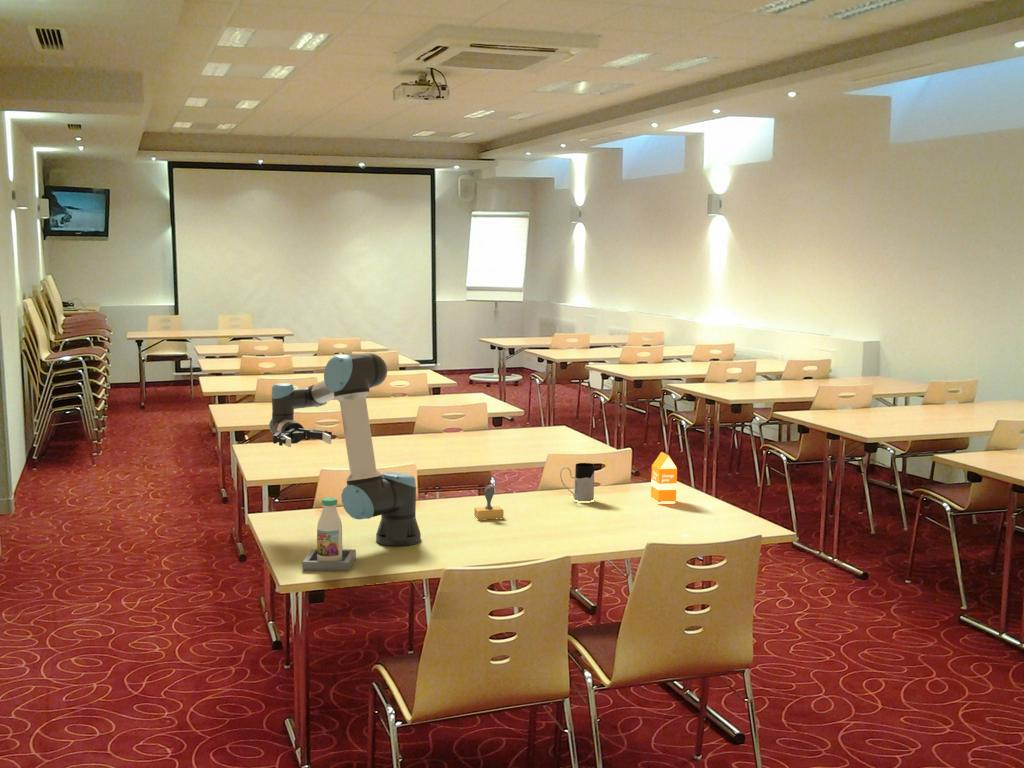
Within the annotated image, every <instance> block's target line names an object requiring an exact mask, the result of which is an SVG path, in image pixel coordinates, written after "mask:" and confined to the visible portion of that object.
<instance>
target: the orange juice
mask: <svg viewBox="0 0 1024 768" xmlns="http://www.w3.org/2000/svg"><path fill="white" fill-rule="evenodd" d="M650 480H651V483H650V485H651V486H650V498H651V497H652V498H654V499H655V500H657V501H658V502H661V501H676V502H677V486H678V485H677V484H678V483H677V481H678V468H677V465H676V464H675V463H674V461H673V460H672V458H671V457H670V454H667V453H665V452H663V451H661V452H660V453H659V454H658V456H657V458H656V459H655V460H654V462H653V463H652V464H651V479H650Z"/></svg>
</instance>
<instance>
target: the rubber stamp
mask: <svg viewBox="0 0 1024 768" xmlns="http://www.w3.org/2000/svg"><path fill="white" fill-rule="evenodd" d="M493 496H494V489H493V487H491V486H486V488H485V489H484V497H485V499H486V506H479V507H474V509H473V510H474V515H473V517H474V516H475V517H476V518H477V519H478V520H477V519H476V518H475V517H474V518H475V519H476V520H477V521H483V520H482V519H495V520H497V519H496V518H503V519H504V515H505V514H504V509H503V508H502V507H501V506H500V505H499V506H498V505H496V506H492V505H491V503H492V499H493Z"/></svg>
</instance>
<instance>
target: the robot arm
mask: <svg viewBox="0 0 1024 768" xmlns="http://www.w3.org/2000/svg"><path fill="white" fill-rule="evenodd" d="M324 367H325V368H324V371H323V380H322V381H319V382H317V383H315V384H313V385H309V386H303V387H294V384H293V383H289V382H288V383H287V382H286V383H285V382H284V383H282V382H281V383H275V384H273V385H272V387H271V396H270V397H271V407H272V408H271V409H272V413H271V419H270V421H269V424H268V427H269V431H270V432H271V433H272V434H273V435H272V443H273V444H275V445H276V444H278V446H280V447H281V446H283V445H284V446H286V447H287V448H291V447H292V444H293V445H294V444H299V443H300V442H301V441H304V440H305V441H308V440H321V441H322V442H324V443H327V444H328V445H330V444H332V440H333V432H332V431H328V430H320V429H315V428H311V430H310V429H306V428H304V426H303V425H302V424H301V423H300V422H297V421H295V420H294V419H295V418H294V413H295V410H296V409H297V410H299V409H307V408H314V407H316V408H318V407H321V406H325V405H326V404H327V403H328V402H329V401H331V400H337V401H338V402H339V406H340V412H341V418H342V426H343V433H344V440H345V447H346V453H347V462H348V467H349V476H348V477H347V478H346V486H345V487H344V488H343V489H342V493H341V495H340V496H341V504H342V507H343V509H344V510H345V513H347V514H348V515H349V517H350V518H352V519H355V520H358V521H360V520H370V519H372V518H374V517H378V516H380V522H379V523H378V526H377V530H376V533H375V541H376V542H377V543H378V544H380V545H383V546H390V547H402V546H403V547H405V546H406V547H407V546H410V545H411V546H412V545H416V544H418V543H420V541H421V536H422V535H421V530H420V527H419V525H418V521H417V518H416V507H417V506H416V505H417V504H416V503H417V502H416V501H417V500H416V499H417V486H416V484H417V483H416V478H415V476H414V475H412V474H409V473H403V472H395V471H394V472H392V471H391V472H387V471H386V472H383V473H381V472H380V471H378V470H377V466H376V459H375V451H374V444H373V439H372V430H371V425H370V424H371V423H370V417H369V411H368V405H367V403H368V402H367V397H368V395H369V394H370V389H371V388H374V387H377V386H380V385H382V384H383V383H384V381H385V380H386V378H387V376H388V366H387V364H386V362H385V360H384V359H383V358H382V357H381V356H380V355H378V354H375V353H373V352H372V353H371V352H365V353H346V354H345V353H344V354H340V355H335V356H332V357H331V358H329V360H328V361H327V363H326V364H325V366H324ZM415 543H416V544H415Z"/></svg>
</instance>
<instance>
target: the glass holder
mask: <svg viewBox="0 0 1024 768" xmlns="http://www.w3.org/2000/svg"><path fill="white" fill-rule="evenodd" d="M565 469H567V470H568V471H569V473H570V474H569V475H570V478H572V479H574V492H573V491H572V490H571V489H569V488H568V487H567V485H566V484H565V483H564V481H563V478H562V472H563V470H565ZM574 471H575V473H574V474H575V475H574V477H573V475H572V471H571V469H570V468H569V467H566V466H565V467H562V468H561V470H560V473H559V476H560V481H561V483H562V485H563V487H564V488H565V489H567V490H568V491H569V492H570V493H572V495H573V500H574V499H575V500H578V501H591V500H593V499H594V500H595V497H594V496H595V464H594V463H590V462H579V463H576V464H575V470H574Z"/></svg>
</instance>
